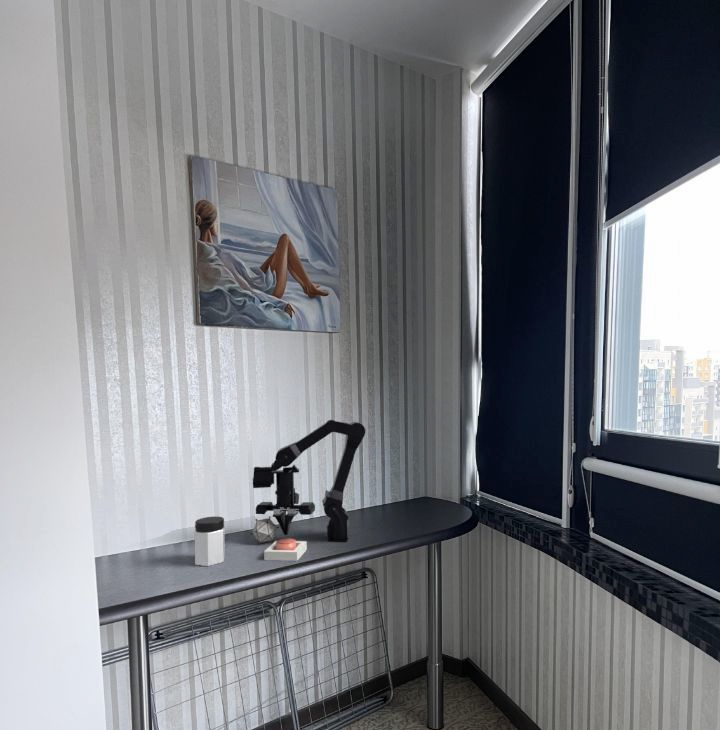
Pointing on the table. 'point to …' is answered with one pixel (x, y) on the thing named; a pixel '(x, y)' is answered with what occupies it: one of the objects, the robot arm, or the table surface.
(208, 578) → the table surface
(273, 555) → the base
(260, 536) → the grey icosahedron ornament
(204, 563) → the jar
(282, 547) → the popper button
